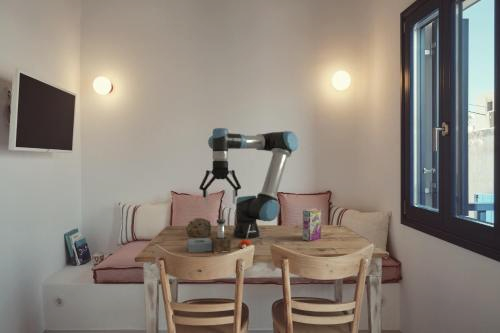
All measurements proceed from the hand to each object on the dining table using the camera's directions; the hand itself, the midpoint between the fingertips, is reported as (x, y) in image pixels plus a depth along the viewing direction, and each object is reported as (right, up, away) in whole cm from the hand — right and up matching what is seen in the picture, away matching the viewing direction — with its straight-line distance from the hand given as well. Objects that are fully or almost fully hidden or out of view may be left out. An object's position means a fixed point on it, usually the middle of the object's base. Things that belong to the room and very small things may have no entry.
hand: (220, 203), depth 165 cm
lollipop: (+13, -23, +6) cm, 27 cm away
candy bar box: (+49, -22, +23) cm, 58 cm away
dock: (-11, -23, +3) cm, 25 cm away
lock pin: (0, -23, +1) cm, 23 cm away
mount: (0, -23, +1) cm, 23 cm away
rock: (-16, -23, +38) cm, 47 cm away
